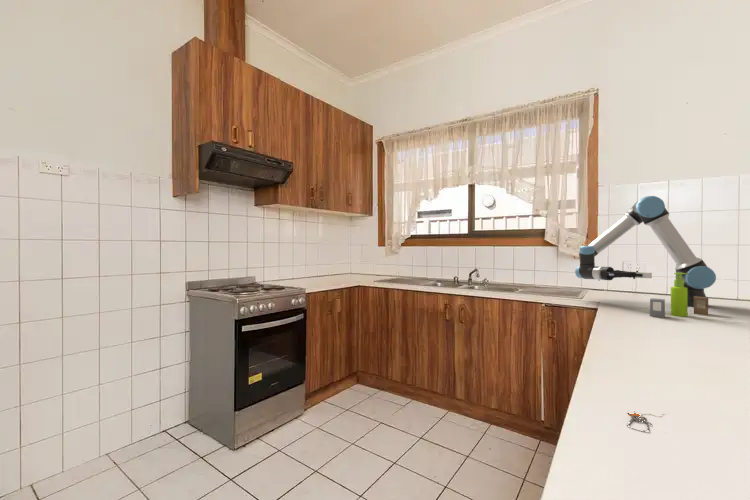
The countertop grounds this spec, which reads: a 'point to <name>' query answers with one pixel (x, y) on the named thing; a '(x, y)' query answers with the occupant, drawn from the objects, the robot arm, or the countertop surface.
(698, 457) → the countertop surface
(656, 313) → the grey rectangular block
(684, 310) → the soap dispenser
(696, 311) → the brown wooden block
